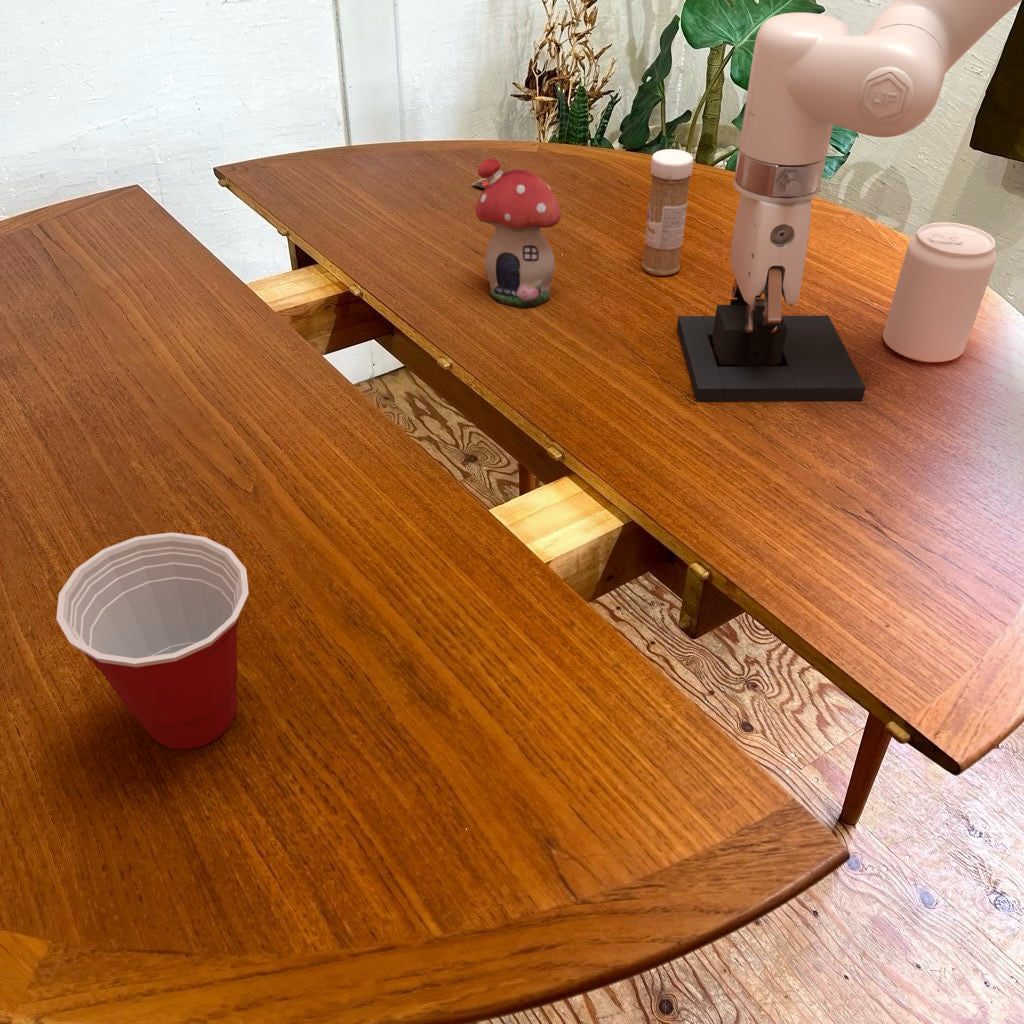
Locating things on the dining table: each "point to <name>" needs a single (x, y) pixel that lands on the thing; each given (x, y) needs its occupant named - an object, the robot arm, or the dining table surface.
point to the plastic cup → (162, 631)
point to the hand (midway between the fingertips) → (746, 348)
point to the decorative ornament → (517, 234)
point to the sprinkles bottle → (667, 211)
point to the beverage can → (939, 291)
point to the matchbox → (481, 183)
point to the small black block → (729, 333)
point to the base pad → (802, 376)
